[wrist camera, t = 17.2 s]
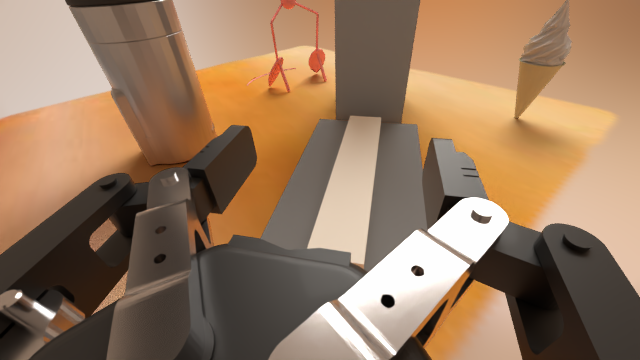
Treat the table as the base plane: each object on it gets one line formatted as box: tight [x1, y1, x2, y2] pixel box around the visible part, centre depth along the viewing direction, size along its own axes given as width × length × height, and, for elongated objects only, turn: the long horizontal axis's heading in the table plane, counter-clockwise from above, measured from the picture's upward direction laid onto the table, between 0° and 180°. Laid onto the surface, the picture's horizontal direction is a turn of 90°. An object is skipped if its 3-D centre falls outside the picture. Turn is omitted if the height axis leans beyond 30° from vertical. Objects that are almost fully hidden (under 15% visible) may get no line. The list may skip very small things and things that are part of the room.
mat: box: [260, 119, 428, 272], centre depth 29 cm, size 26×14×1 cm, turn 167°
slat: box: [307, 116, 381, 269], centre depth 27 cm, size 22×4×2 cm, turn 167°
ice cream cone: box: [515, 0, 571, 118], centre depth 35 cm, size 5×5×15 cm
